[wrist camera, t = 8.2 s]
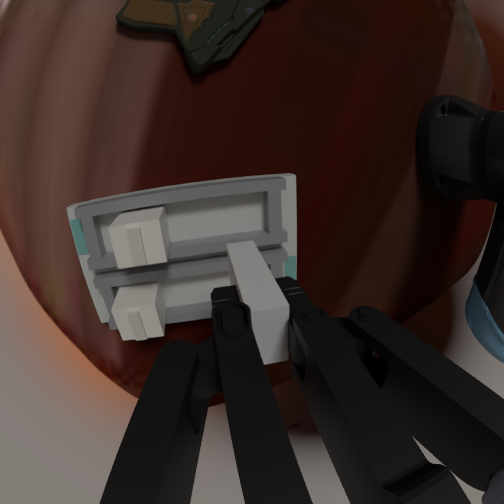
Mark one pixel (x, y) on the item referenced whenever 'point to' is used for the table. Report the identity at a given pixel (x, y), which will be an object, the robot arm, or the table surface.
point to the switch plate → (190, 239)
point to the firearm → (197, 24)
